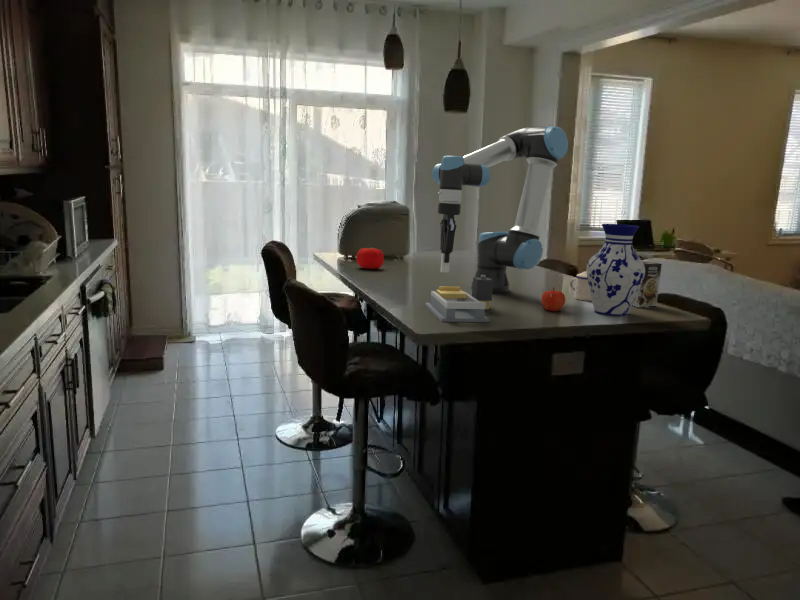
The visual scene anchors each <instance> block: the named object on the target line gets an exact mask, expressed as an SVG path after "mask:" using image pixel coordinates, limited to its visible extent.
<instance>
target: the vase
mask: <svg viewBox="0 0 800 600" xmlns="http://www.w3.org/2000/svg"><path fill="white" fill-rule="evenodd" d="M601 226H602V228H603V231H604V237H605V240H604V244H603V245H602V246H601V248H600V249H599V250H598V251H596V253H595V254H594V255H592V256H591V257H590V258H589V260H588V262H587V264H586V270H587V278H588V284H589V289H590V293H591V298H592V301H591V303H592V307H593V310H594V313H597V314H599V315H605V316H612V317H625V315H626V316H628V314H629V312H630V310H631V307H633V306H632V304H633V301H634V299H635V297H636V295H637V293H638V291H639V289H640V286H641V284H642V281H643V279H644V276H645V266H644V263H643V262H644V261H643V260H642V259H641V258H640V257H639V255H638V254H637V252H636V251H635V249H634V246H633V238H634V236H635V234H636V232H638V230H639V228H640V226H638V225H632V224H623V223H622V224H621V223H620V224H619V223H601Z"/></svg>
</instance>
